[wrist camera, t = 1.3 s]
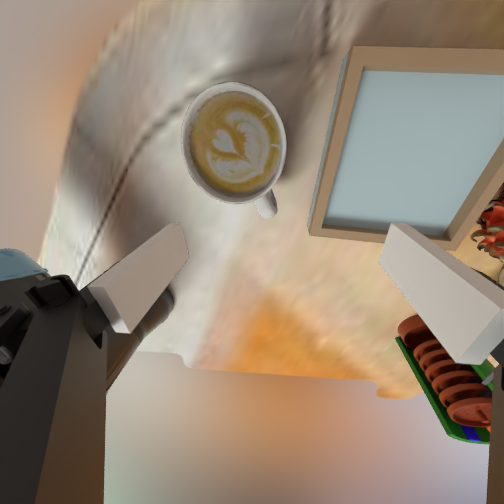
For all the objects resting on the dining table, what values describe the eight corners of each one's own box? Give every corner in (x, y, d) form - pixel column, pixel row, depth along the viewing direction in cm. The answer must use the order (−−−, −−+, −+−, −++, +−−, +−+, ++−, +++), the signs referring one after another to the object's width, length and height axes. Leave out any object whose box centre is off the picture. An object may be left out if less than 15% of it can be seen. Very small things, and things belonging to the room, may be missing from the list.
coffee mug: (201, 116, 25) (161, 106, 17) (276, 88, 23) (273, 58, 14) (233, 212, 31) (215, 240, 23) (295, 198, 29) (300, 223, 20)
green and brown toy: (411, 307, 36) (526, 457, 19) (463, 313, 35) (630, 477, 18) (388, 340, 41) (463, 482, 24) (433, 347, 41) (542, 498, 24)
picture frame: (305, 220, 30) (309, 235, 26) (337, 66, 21) (353, 45, 16) (427, 232, 29) (455, 251, 24) (520, 71, 20) (594, 51, 15)
